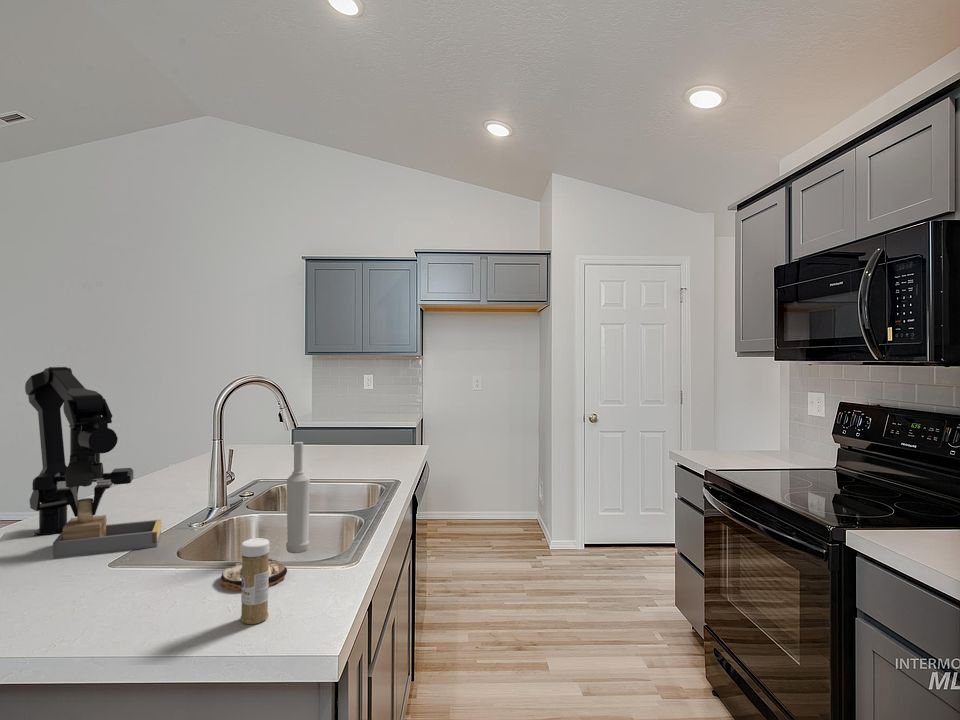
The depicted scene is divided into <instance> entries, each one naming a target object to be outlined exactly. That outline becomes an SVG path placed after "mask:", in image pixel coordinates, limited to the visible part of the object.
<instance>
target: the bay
mask: <svg viewBox="0 0 960 720" xmlns="http://www.w3.org/2000/svg"><path fill="white" fill-rule="evenodd" d="M161 535H162V519H154V520H152V519H151V520H143V521H142V520H141V521H133V522H132V521H131V522H124V523H123V522H121V523H111V524H106V536H101V537H92V538H82V539H72V540H63V535H62V532H61V533H59V535H58V537H56V539H55V540H54V541H53V542H52V559H61V558H70V557H80V556H89V555H96V554H104V553H106V554H107V553H113V552H114V553H115V552H122V551H131V550H132V551H133V550H139V549H140V550H141V549H142V550H143V549H151V548H157V547H158V543H159V542H160V538H161Z"/></svg>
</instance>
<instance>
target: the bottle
mask: <svg viewBox="0 0 960 720" xmlns="http://www.w3.org/2000/svg"><path fill="white" fill-rule="evenodd" d="M293 459H294V460H293V470H292V473H291V474H290V476H288V478H286V513H287V514H286V518H287V519H286V520H287V521H286V525H287V527H286V530H287V532H286V534H287V537H286V539H287V541H286V544H285V545H286V546H285V547H286V551H287V552H288V553H289V554H302V553H305V552H307V551H309V548H310V540H309V527H310V526H309V525H310V524H309V523H310V489H311V487H310V486H311V485H310V484H311V478H310V477H309V476H308V475H307V474H306V473H305V471H304V441H295V442H293Z"/></svg>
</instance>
